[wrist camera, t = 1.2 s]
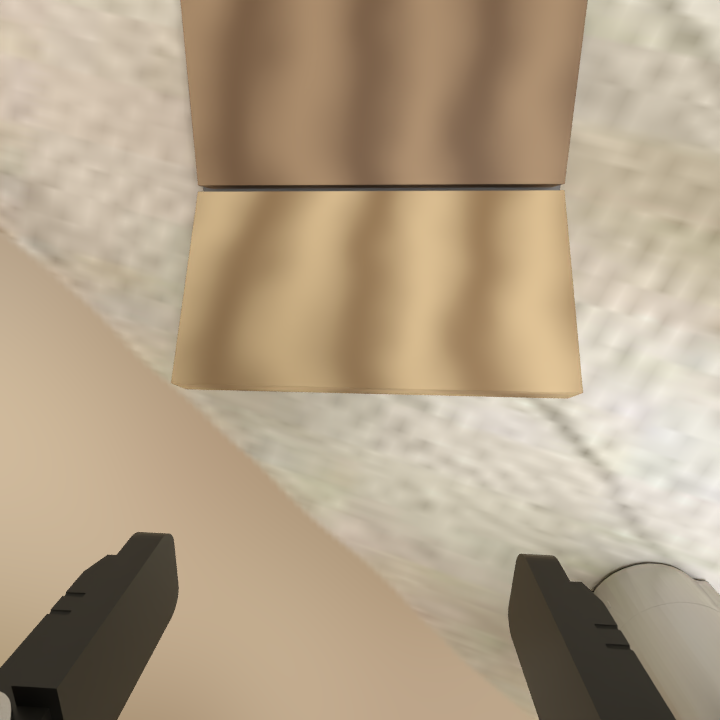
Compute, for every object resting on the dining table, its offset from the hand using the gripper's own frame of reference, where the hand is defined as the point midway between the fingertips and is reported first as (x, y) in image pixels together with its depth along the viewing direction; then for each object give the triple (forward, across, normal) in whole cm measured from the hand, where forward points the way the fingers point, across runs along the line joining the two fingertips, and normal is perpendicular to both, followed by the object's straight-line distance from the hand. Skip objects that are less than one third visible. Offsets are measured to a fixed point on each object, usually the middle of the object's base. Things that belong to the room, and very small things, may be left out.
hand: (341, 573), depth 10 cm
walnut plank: (+23, 0, -16) cm, 28 cm away
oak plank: (+18, -1, -4) cm, 18 cm away
